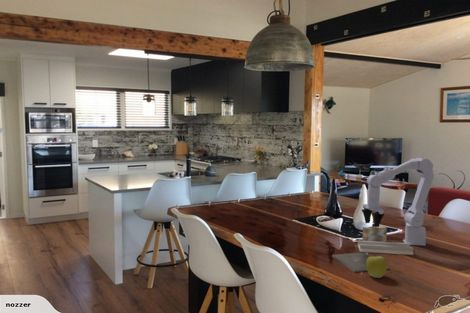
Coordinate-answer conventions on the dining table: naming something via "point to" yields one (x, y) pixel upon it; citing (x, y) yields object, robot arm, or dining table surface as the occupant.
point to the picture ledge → (385, 247)
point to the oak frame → (375, 233)
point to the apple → (376, 266)
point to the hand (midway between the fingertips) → (371, 224)
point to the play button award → (353, 261)
